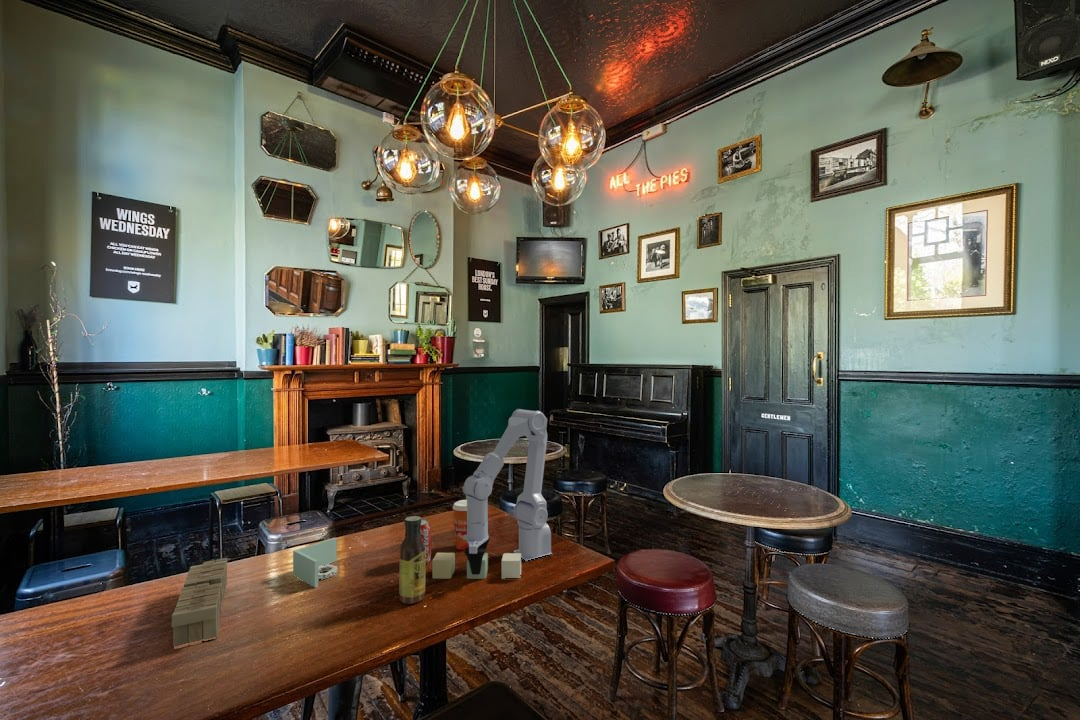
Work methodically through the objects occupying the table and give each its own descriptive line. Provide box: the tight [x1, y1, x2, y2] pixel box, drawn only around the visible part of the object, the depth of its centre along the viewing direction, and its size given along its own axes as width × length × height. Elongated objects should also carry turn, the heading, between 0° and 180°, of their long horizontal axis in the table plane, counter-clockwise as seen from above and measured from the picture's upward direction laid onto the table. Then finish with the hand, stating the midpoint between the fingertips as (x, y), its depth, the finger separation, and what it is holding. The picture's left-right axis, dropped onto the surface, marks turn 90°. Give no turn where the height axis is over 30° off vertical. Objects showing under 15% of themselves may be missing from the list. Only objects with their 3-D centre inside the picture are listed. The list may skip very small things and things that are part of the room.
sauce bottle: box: [398, 515, 427, 605], centre depth 115 cm, size 7×6×20 cm
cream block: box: [501, 552, 522, 580], centre depth 128 cm, size 5×5×5 cm
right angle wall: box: [292, 537, 339, 588], centre depth 129 cm, size 12×12×8 cm
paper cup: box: [452, 499, 469, 551], centre depth 147 cm, size 8×8×14 cm
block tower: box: [170, 557, 228, 646], centre depth 108 cm, size 8×8×29 cm
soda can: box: [421, 518, 432, 565], centre depth 136 cm, size 7×7×12 cm
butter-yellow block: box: [431, 552, 456, 580], centre depth 128 cm, size 5×5×5 cm
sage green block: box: [466, 552, 489, 580], centre depth 128 cm, size 5×5×5 cm
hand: (477, 569), depth 128 cm, fingers closed on sage green block, 5 cm apart
